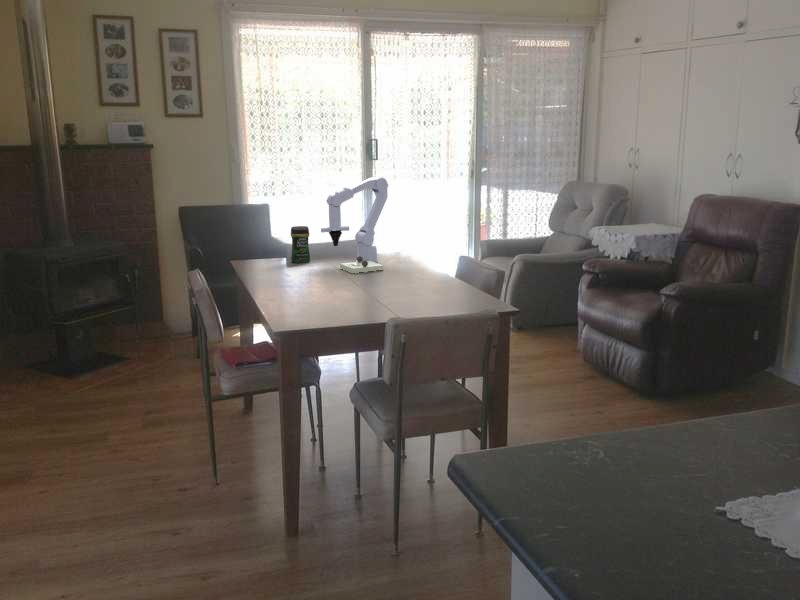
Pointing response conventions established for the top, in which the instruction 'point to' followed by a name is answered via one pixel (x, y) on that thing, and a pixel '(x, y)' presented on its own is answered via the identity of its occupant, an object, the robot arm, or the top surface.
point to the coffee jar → (300, 244)
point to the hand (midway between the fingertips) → (335, 245)
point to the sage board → (361, 267)
